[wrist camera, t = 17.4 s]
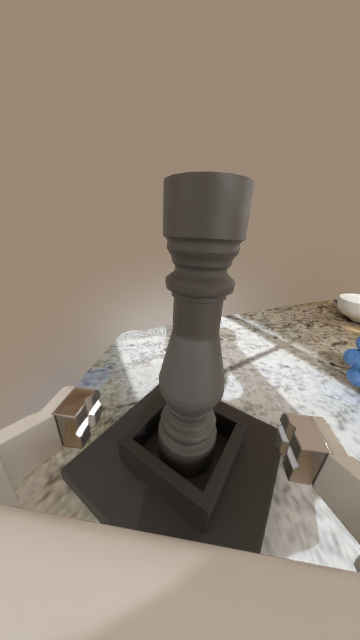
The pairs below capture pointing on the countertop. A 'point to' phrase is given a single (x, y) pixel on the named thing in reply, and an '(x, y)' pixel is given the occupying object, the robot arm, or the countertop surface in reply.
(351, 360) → the grapes
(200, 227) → the candle holder
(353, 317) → the cereal bowl
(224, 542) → the display stand
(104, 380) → the countertop surface
